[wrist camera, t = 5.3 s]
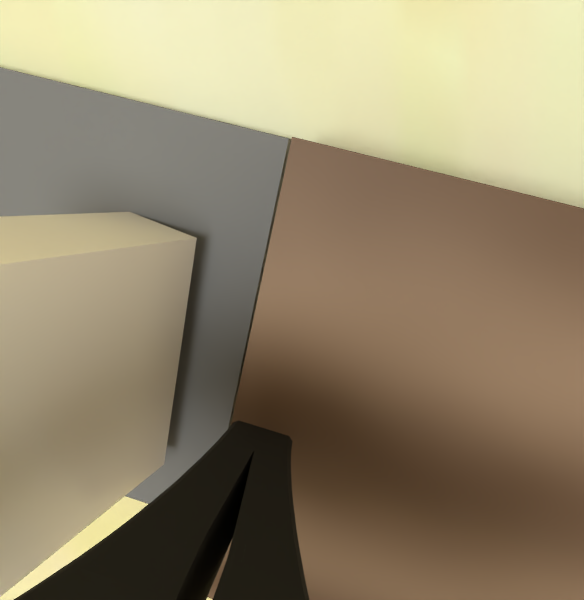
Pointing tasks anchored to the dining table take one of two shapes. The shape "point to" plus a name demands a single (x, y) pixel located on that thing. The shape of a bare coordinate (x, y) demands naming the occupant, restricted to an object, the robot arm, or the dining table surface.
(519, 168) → the dining table surface
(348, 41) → the dining table surface
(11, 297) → the tile
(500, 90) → the dining table surface
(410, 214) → the board
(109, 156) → the mat
